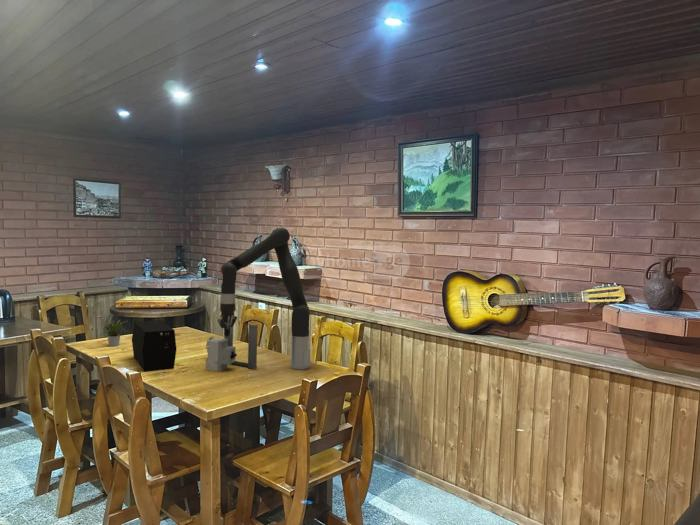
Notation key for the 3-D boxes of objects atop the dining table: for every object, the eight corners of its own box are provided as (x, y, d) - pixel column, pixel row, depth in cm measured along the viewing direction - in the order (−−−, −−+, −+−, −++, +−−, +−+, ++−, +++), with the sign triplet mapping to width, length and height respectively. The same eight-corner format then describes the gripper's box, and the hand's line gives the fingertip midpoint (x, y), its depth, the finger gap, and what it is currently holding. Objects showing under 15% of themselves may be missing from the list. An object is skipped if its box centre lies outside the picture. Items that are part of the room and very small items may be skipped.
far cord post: (235, 363, 268) (236, 318, 267) (228, 365, 264) (229, 320, 262) (227, 361, 271) (228, 317, 269) (221, 363, 266) (222, 319, 265)
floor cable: (249, 366, 262) (249, 362, 262) (247, 367, 260) (247, 363, 260) (232, 363, 267) (233, 360, 267) (230, 364, 265) (230, 360, 265)
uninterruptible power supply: (162, 354, 281) (163, 319, 280) (176, 369, 252) (177, 330, 251) (131, 357, 272) (131, 321, 271) (142, 373, 244) (142, 332, 243)
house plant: (127, 342, 309) (127, 316, 308) (130, 346, 297) (130, 319, 296) (101, 344, 302) (102, 317, 301) (103, 348, 290) (104, 321, 289)
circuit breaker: (231, 372, 250) (232, 342, 250) (205, 369, 253) (206, 340, 253) (238, 368, 258) (238, 339, 257) (212, 366, 261) (213, 337, 260)
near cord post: (259, 367, 261) (260, 322, 260) (253, 369, 257) (254, 323, 255) (251, 366, 264) (252, 321, 262) (245, 368, 259) (246, 322, 258)
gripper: (224, 304, 245) (224, 339, 246) (242, 301, 257) (241, 334, 257) (213, 302, 248) (212, 337, 249) (230, 300, 260) (229, 333, 261)
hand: (227, 335), depth 253 cm, fingers closed
